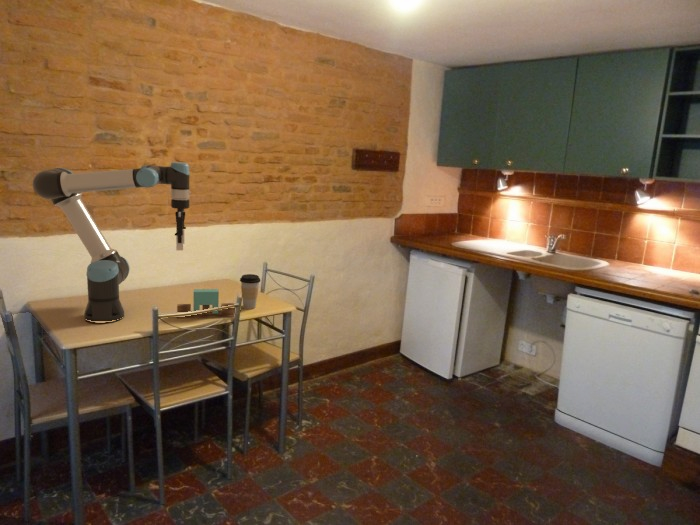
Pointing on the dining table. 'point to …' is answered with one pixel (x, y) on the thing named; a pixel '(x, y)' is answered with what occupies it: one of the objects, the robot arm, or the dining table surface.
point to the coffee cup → (249, 290)
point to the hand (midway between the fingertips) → (180, 246)
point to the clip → (206, 298)
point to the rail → (222, 313)
